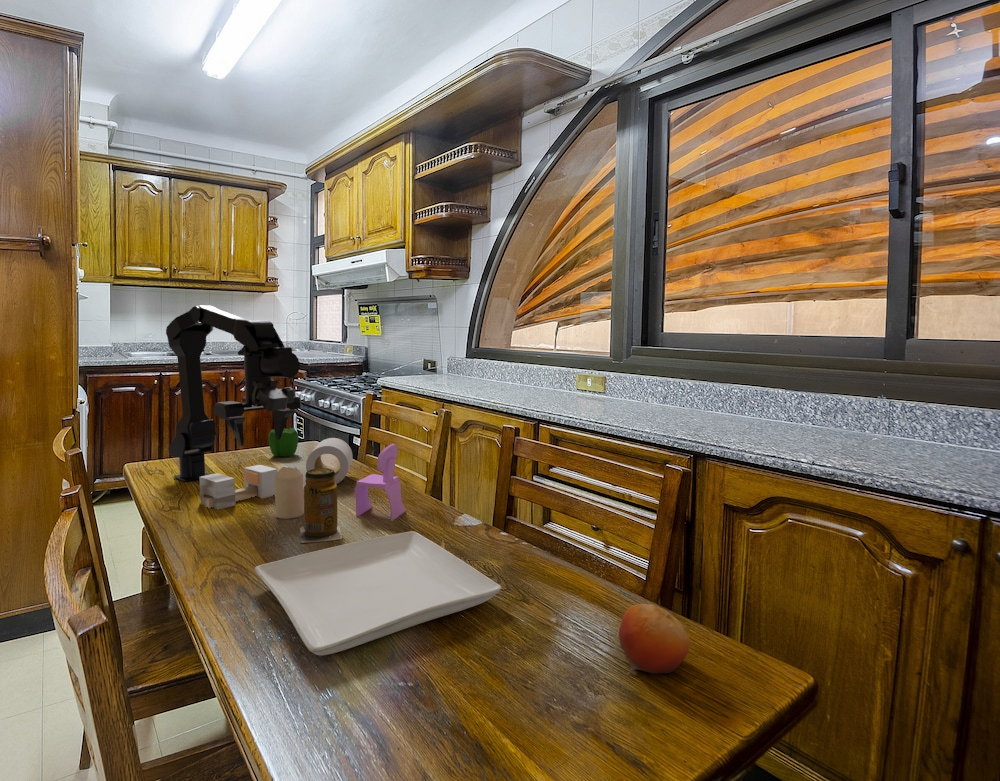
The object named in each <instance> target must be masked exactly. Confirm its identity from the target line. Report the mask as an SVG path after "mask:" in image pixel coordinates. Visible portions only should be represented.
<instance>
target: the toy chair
mask: <svg viewBox="0 0 1000 781" xmlns="http://www.w3.org/2000/svg"><path fill="white" fill-rule="evenodd" d="M398 450H399V449H398V446H397V444H396V443H391V444H389V445H387V446H386V447H385V448H383V449H382V451H380V453H379V454H378V457H377V459H376V460H377V461H376V462H377V463H376V464H377V465H376V467H377V468H376V469H377V471H380V472H381V473H382V474H381V475H380V474H375V473H371V474H369V475H367V476H366V477H364V478H362V479H359V480H357V481H356V486H355V487H354V494H355V516H356V517H359V516H361V515H362V514H364V513H365V512H367V511H368V510H371V509H372V508H373V505H372V503H371V501H370V498H369V487H370V488H375V489H380V490H381V489H382V490H384V491H385V493H386V496H387V498H388V501H389V502H388V503H389V506H390V521H394V520H395V519H397V518H399V516H401V515H402V514H404V513H405V512H406V508H405V506H404V504H403V500H402V495H401V493H402V491H401V487H402V486H401V481H400V478H399V476H396V475H395V469H396V468H395V467H396V458H398V453H399V452H398Z"/></svg>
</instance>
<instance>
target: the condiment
mask: <svg viewBox="0 0 1000 781" xmlns="http://www.w3.org/2000/svg"><path fill="white" fill-rule="evenodd" d="M328 468H329V467H328ZM328 468H317V469H311V470H309V471H307V470H306V473H305V485H303V491H304V514H303V516H304V517H303V520H304V521H303V524H304V525H303V526H301V527H299V533H300V534H299V536H300V538H299V539H300V543H303V544H304V543H306V544H307V543H319V542H328V541H336V540H337V541H338V540H343V536H342V532H341V528H340V523H338V519H339V518H338V485H337V484H336V483H335V482H334V481H335V477H334V476H335V473H334V470H332V469H328Z"/></svg>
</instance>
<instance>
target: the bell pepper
mask: <svg viewBox="0 0 1000 781" xmlns="http://www.w3.org/2000/svg"><path fill="white" fill-rule="evenodd" d="M267 438H268V446H269V449H270V452H271V454H272V455H273V457H278V456H280V457H283V456H284V457H292V456H294V455H295V454H296V452H297V448H298V444H299V433H298V431H297V430H296V429H295V428H294V427H291V428H285V427H284V430H283V433H282V436H281V439H280V440H277V439H276V436H275V430H274V429H271V430H270V432H269V434H268V436H267Z"/></svg>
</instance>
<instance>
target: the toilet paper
mask: <svg viewBox="0 0 1000 781" xmlns="http://www.w3.org/2000/svg"><path fill="white" fill-rule="evenodd" d="M323 455H331V456H334V457H336V458H337V459H338V461H339V465H340V466H338V467H328V466H326V465H325V464H324V462H323V461H322V457H321V456H323ZM352 462H353V451H352V448H351V447H350V446H349V444H348V443H347V442H346V441H345V440H343V439H341V438H336V437H329V438H326V439H323V440H321V441H320V442H318V444H317V445H316V446H315V447H314V448H313V450H312V451H311V453H309V455H308V457H307V459H306V463H305V469H306V470H305V471H306V472H307V471H309V470H311V469H317V468H328V469H332V470H334V473H335V476H334V477H335V481H334V482H335V483H336V485H337V484H340V483H341V482H343V480H344V479H345V478H346V476H347V475H348V472H349V469H350V467H351V464H353V463H352Z"/></svg>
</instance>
